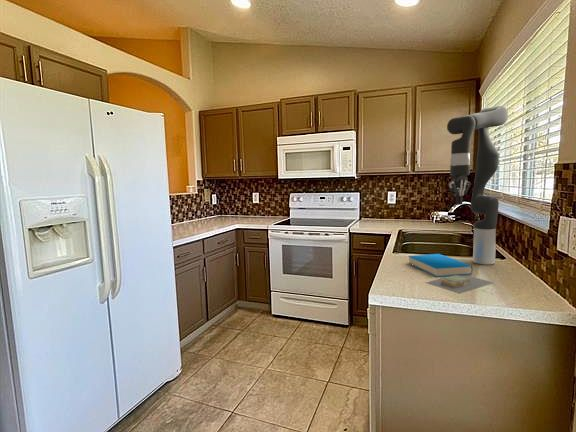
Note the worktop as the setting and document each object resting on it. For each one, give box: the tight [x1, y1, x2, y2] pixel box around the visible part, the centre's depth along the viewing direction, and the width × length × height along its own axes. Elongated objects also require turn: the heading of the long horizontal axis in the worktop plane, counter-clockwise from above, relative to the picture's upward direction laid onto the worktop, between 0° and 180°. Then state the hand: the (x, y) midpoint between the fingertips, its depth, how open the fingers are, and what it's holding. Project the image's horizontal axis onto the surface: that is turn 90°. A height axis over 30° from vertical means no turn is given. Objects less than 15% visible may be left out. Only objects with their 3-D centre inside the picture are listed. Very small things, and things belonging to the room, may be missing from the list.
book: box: [408, 253, 473, 278], centre depth 154 cm, size 17×4×25 cm
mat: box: [425, 274, 495, 295], centre depth 133 cm, size 22×15×1 cm
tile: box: [440, 275, 470, 288], centre depth 131 cm, size 2×6×9 cm
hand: (458, 204), depth 143 cm, fingers closed
